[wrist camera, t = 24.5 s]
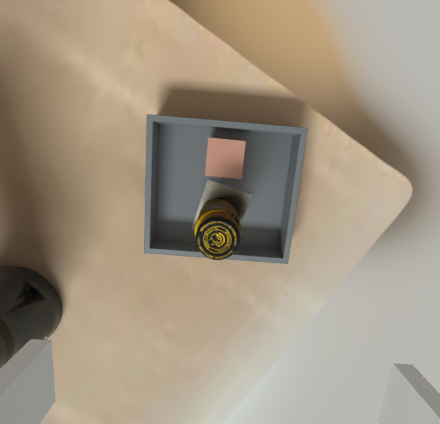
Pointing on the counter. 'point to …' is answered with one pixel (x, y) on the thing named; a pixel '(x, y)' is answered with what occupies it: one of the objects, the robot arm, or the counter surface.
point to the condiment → (220, 220)
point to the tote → (196, 181)
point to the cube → (225, 158)
